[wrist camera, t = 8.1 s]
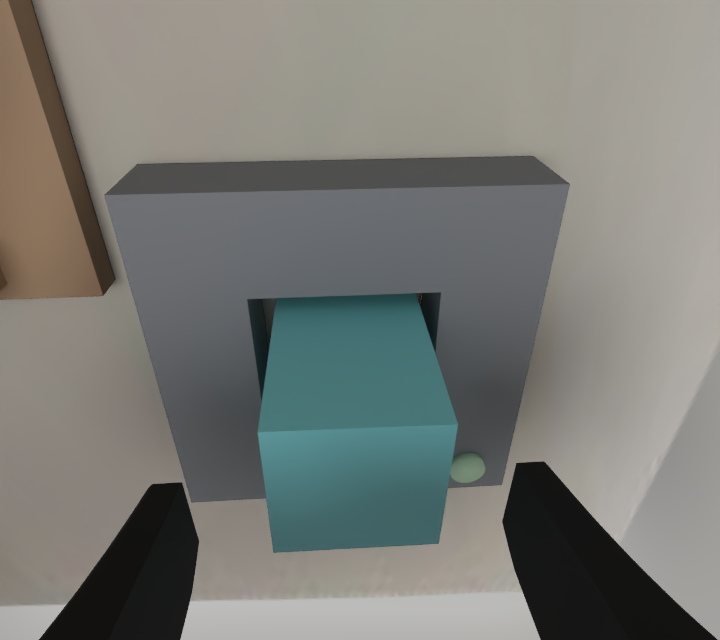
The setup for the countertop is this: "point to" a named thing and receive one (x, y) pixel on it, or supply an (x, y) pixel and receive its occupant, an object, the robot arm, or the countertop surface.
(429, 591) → the countertop surface
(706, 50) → the countertop surface
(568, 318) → the countertop surface
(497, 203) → the port
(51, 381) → the countertop surface
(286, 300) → the plug
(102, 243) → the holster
